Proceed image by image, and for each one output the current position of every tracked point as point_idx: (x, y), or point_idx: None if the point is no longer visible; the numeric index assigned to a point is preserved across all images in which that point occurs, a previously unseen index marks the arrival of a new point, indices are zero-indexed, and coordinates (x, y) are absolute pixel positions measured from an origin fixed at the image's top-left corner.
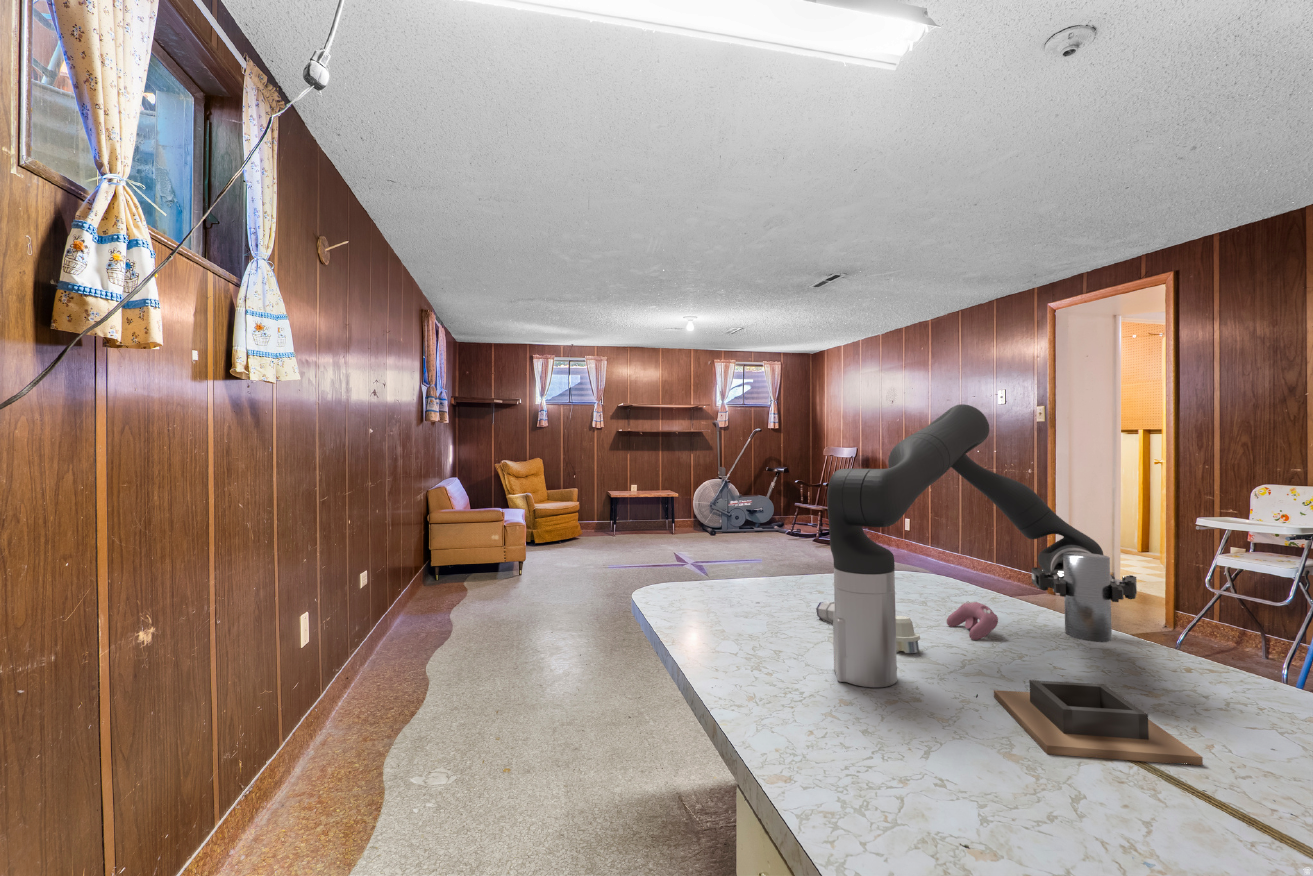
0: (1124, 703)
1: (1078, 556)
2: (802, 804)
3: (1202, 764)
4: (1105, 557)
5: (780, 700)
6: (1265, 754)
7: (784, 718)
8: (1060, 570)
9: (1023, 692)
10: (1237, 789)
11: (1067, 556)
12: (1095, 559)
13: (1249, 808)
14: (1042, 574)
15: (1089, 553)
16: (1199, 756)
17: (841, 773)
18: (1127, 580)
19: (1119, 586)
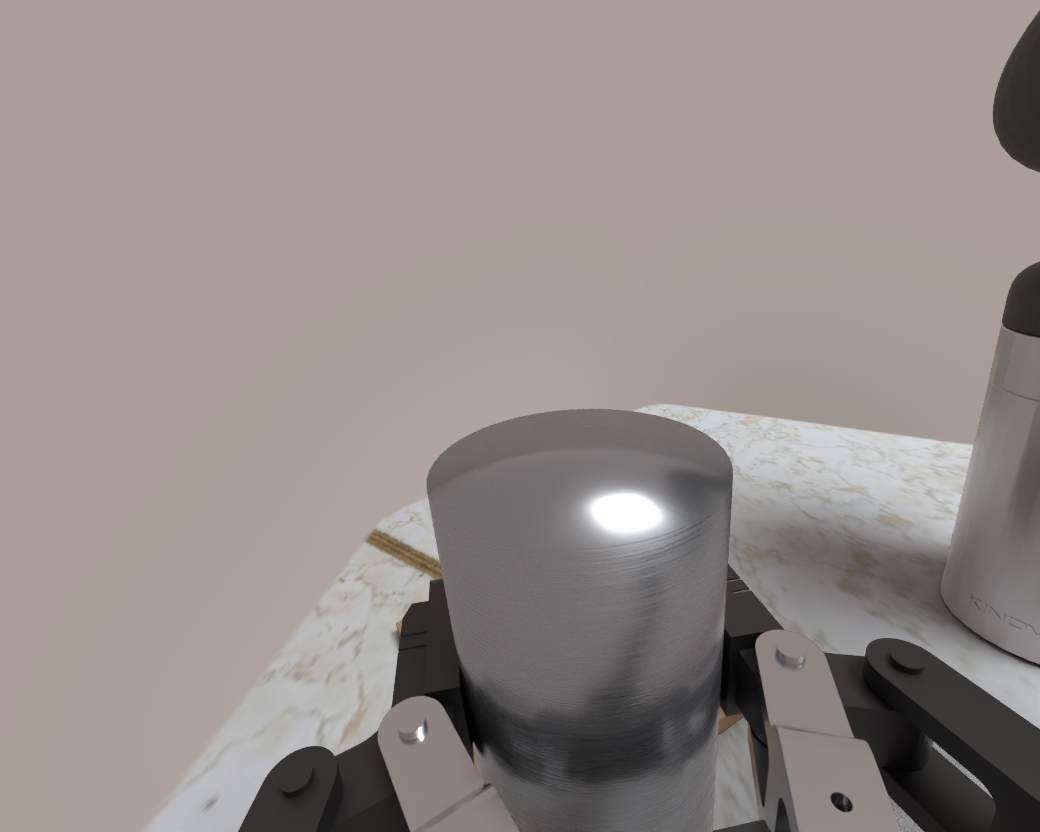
0: None
1: (604, 425)
2: (707, 416)
3: (398, 633)
4: (454, 466)
5: (941, 483)
6: (251, 757)
7: (870, 463)
8: (866, 767)
9: (721, 711)
10: (378, 599)
11: (662, 422)
12: (512, 422)
13: (385, 567)
14: (892, 643)
15: (570, 538)
16: (400, 621)
17: (724, 440)
18: (311, 771)
19: (403, 689)
